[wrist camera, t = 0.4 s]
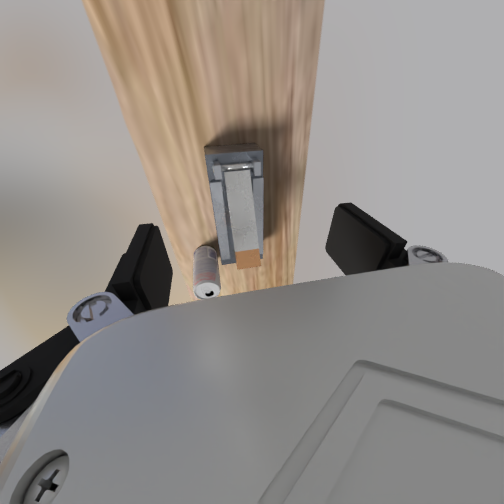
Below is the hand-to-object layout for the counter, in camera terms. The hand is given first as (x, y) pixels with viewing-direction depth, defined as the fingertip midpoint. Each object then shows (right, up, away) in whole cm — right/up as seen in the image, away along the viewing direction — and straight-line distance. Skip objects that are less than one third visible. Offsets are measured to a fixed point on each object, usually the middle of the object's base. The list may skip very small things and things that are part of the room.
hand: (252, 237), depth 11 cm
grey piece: (-4, +9, +32) cm, 33 cm away
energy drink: (-11, -1, +38) cm, 40 cm away
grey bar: (-2, +4, +23) cm, 23 cm away
